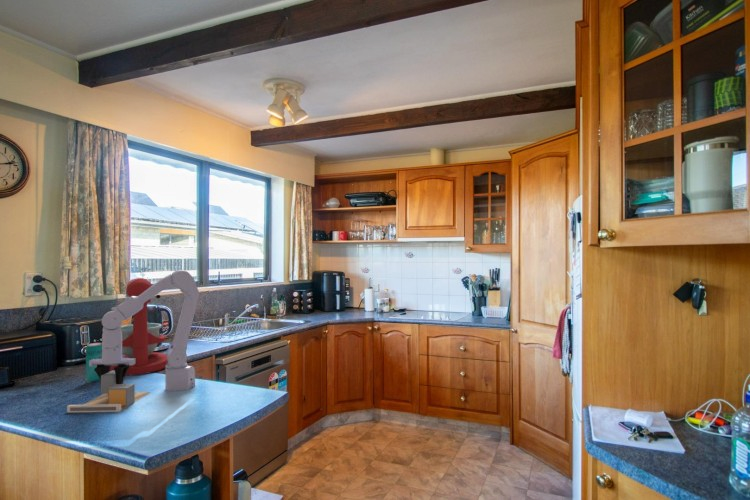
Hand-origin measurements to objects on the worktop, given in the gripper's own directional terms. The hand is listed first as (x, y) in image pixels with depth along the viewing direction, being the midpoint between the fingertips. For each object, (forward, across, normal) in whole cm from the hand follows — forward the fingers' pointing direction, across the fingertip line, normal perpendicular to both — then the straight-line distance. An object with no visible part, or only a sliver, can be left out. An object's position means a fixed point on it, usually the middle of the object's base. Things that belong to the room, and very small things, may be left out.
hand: (112, 386), depth 137 cm
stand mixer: (+5, +16, -44) cm, 47 cm away
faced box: (+4, -7, +7) cm, 11 cm away
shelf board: (+5, -2, +4) cm, 7 cm away
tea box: (+1, 0, 0) cm, 1 cm away
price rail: (+4, -2, +13) cm, 13 cm away
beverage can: (+5, +21, -22) cm, 31 cm away
